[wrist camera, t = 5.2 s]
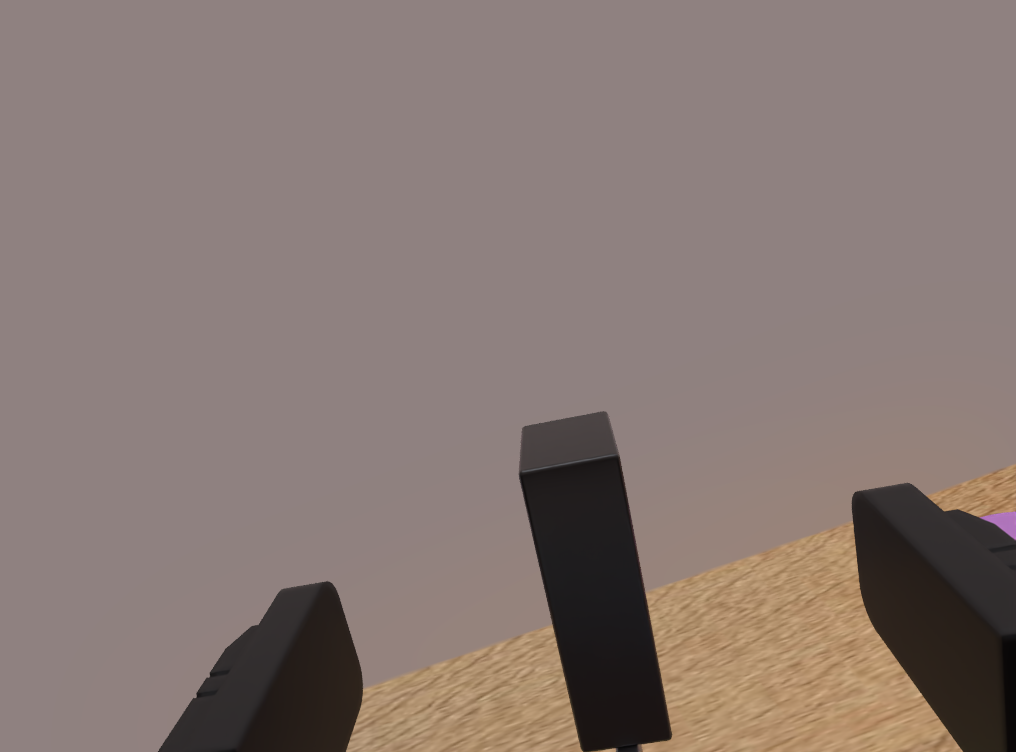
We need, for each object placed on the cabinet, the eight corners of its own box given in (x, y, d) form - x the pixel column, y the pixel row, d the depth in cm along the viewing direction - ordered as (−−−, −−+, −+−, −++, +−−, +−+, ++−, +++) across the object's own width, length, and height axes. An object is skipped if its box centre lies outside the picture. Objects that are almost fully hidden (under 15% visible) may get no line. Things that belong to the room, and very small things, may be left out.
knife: (649, 1059, 14) (516, 480, 11) (632, 919, 17) (521, 420, 14) (732, 1051, 14) (621, 461, 11) (702, 912, 17) (605, 404, 14)
